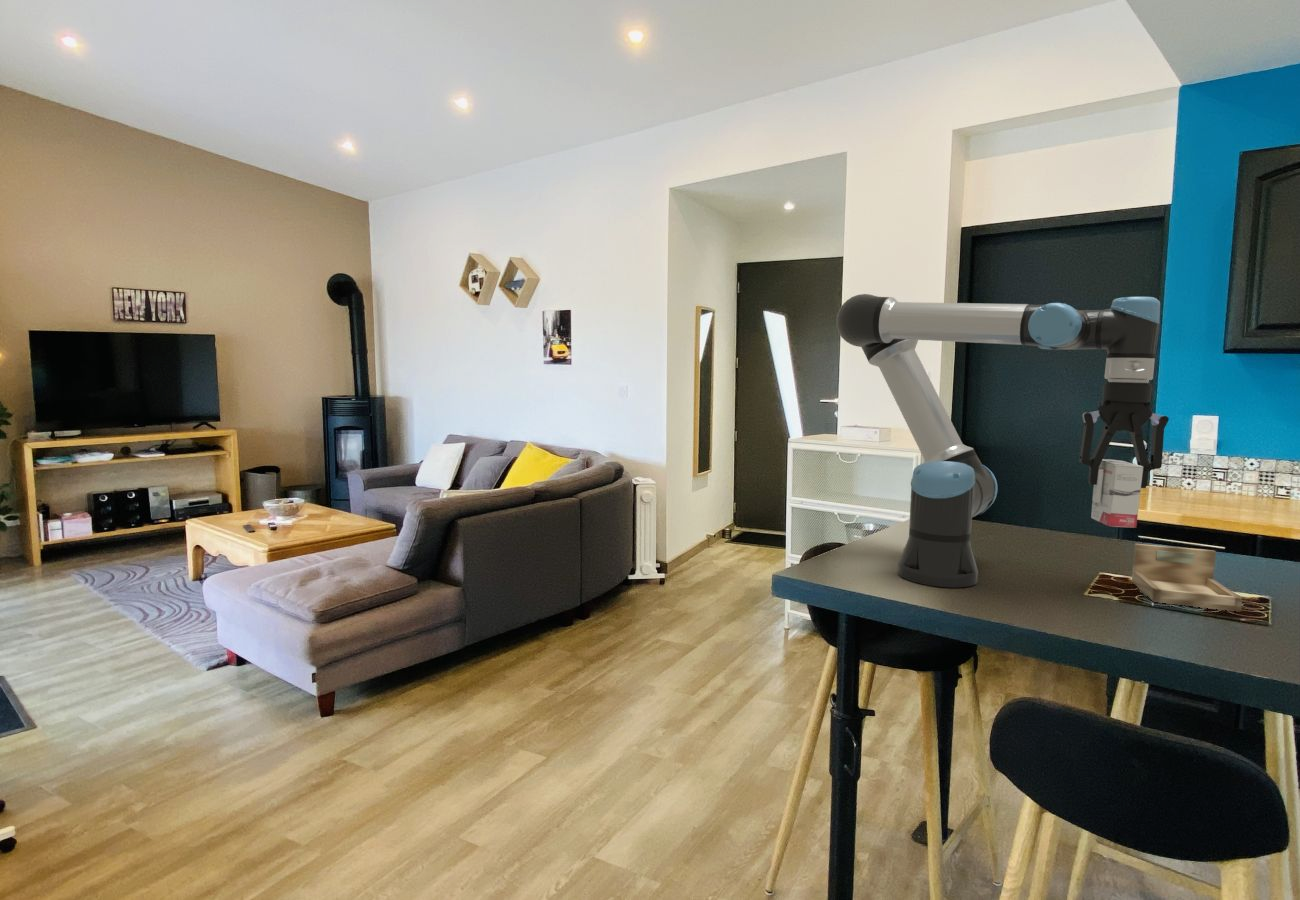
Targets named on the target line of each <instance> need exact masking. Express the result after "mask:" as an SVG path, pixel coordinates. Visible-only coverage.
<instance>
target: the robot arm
mask: <svg viewBox="0 0 1300 900" xmlns="http://www.w3.org/2000/svg"><path fill="white" fill-rule="evenodd" d="M1109 307H1110V308H1105V309H1092V310H1091V309H1086V310H1084V309H1082V310H1079V309H1076V308H1074V307H1073V306H1071V305H1069V304H1067V303H1062V302H1051V303H1050V302H1049V303H1047V304H1039V303H1038V304H1028V303H985V302H984V303H983V302H982V303H978V302H977V303H976V302H975V303H973V302H972V303H971V302H919V301H918V302H917V301H915V302H911V301H910V302H907V301H905V302H903V301H898V300H897V299H896V298H895V297H893V296H877V295H873V294H869V293H861V294H856V295H854V296H851V297H850V298H848V299H847V300H846V301H845V302H844V303H843V304H842V305H841V306H840V308H839V309H838V311H837V314H836V330H837V332H838V334H839V335H840V336H841V338H842V339H843V340H844V341H845V342H846V343H848V344H849V345H852V346H855V347H857V348H858V347H859V348H861V349H862V351H863V354H864V355H865V358H866V360H867V362H868V363H869V365H872V366H876V367H878V368H879V370H880V373H881V374H882V377H883V378H884V380H885V382H886V384H887V386H888V388H889V390H890V392H891V394H892V396H893V399H894V401H895V403H896V405H897V406H898V408H899V411H900V413H901V415H902V417H903V419H904V421H905V423H906V425H907V427H908V430H909V431H910V434H912V437H913V440H914V441H915V444H916V445H917V448H918V449H919V450H918V451H920V453H921V456H922V457H923V459H924V462H923V463H920V464H918V465H917V466H915V467H914V469H913V470H912V478H911V481H910V488H911V489H910V490H911V491H910V508H909V511H910V512H909V525H908V526H909V528H908V529H909V531H908V532H909V533H908V539H907V541H906V543H905V546H904V548H903V551H902V553H901V556H900V558H899V561H898V566H897V572H898V573H897V574H898V575H899V576H900V577H902V578H903V579H906V580H908V581H909V582H914V583H918V584H922V585H926V586H931V587H938V588H939V587H940V588H968V587H972V586H975V585H976V584H977V583H978V581H979V569H978V567H977V563H976V560H975V557H974V553H973V549H972V545H971V535H972V521H973V518H974V517H977V516H979V515H982V514H984V513H985V512H986V511H987V510H988V509H990V507H991V506H992V504H994V503H995V500H996V498H997V494H998V490H999V489H998V487H999V486H998V481H997V479H996V477H995V474H994V472H992V471H991V470H990V469H989V468H988V467H987V466H986V465H984V464H982V462H981V459H979V457H978V455H977V453H976V451H975V449H974V447H971V446H967V445H965V444H964V443H963V441H962V440H961V437H960V435H959V433H958V432H957V430H956V427H955V426H954V423H953V422H952V420H951V418H950V416H949V414H948V412H947V411H946V408H945V406H944V405H943V402H942V399H940V397H939V394H938V393H937V391H936V389H935V387H934V384H933V382H932V381H931V379H930V377H929V375H928V373H927V371H926V369H925V367H924V365H923V363H922V362H921V359H920V357H919V356H918V355H919V354H918V353H917V351H916V348H917V345H918V341H935V342H954V343H955V342H957V343H975V344H979V343H980V344H997V345H998V344H999V345H1020V346H1021V345H1022V346H1033V347H1034V346H1035V347H1038V348H1039V349H1041V350H1052V351H1061V350H1074V351H1075V350H1076V351H1077V350H1106V352H1107V353H1106V361H1105V367H1104V368H1105V370H1104V375H1103V376H1104V379H1105V380H1107V382H1104V383H1103V388H1102V397H1101V404H1100V406H1099V407H1098V409H1097V410H1095V411H1090V412H1085V411H1084V412H1082V414H1081V418H1082V419H1081V420H1082V423H1083V430H1082V435H1081V436H1082V437H1081V443H1080V451H1079V455H1078V457H1079V458H1078V461H1079V463H1081V464H1082V465H1085V466H1088V467H1089V468H1088V469H1089V471H1088V484H1090V485H1093V489H1092V499H1091V500H1092V502H1093V501H1094V502H1095V503H1100V500H1101V490H1102V481H1103V471H1104V469H1102V468H1099V466H1100V464H1101V461H1102V459H1104V456H1105V455H1106V453H1107V450H1108V448H1109V445H1110V444H1111V441H1112V440H1113V437H1114V435H1115V434H1116V432H1120V431H1127V432H1128V433H1129V435H1130V436H1131V437H1130V438H1131V441H1132V445H1133V446H1132V447H1133V450H1134V455H1135V460H1136V463H1137V464H1136V465H1140V466H1143V474H1142V482H1141V489H1146V488H1147V486H1148V480H1149V479H1148V478H1149V473H1150V472H1151V471H1152V470H1160V469H1161V468H1162V466H1163V465H1162V464H1163V450H1164V439H1165V438H1164V437H1165V428H1166V426H1167V424H1168V422H1169V420H1170V419H1169V417H1168V416H1166V415H1160V414H1157V413H1154V412H1153V410H1152V408H1151V400H1152V393H1153V392H1152V391H1153V385H1152V383H1149V381H1152V380H1153V379H1154V373H1155V372H1154V370H1155V360H1156V353H1157V345H1158V340H1159V331H1160V324H1161V323H1160V321H1161V320H1160V319H1161V318H1160V317H1161V316H1160V315H1161V302H1160V300H1159V299H1157V298H1156V297H1153V296H1126V297H1119V298H1114V299H1113V300H1112V302H1111V306H1109ZM1099 417H1100V419H1101V420H1102V422H1103V423H1104V424H1105V425H1104V428H1103V430H1102V434H1101V436H1100V439H1099V440H1098V443H1097V445H1096V447H1095V449H1094V452H1093V454H1092V456H1091V449H1092V445H1093V444H1092V443H1093V435H1094V430H1095V423H1097V421H1098V418H1099ZM1149 419H1150V424H1151V425H1152V427H1151V439H1150V440H1151V442H1150V454H1149V455H1150V457H1149V460H1148V455H1147V450H1146V446H1145V442H1144V437H1143V428H1142V426H1143V425H1145V423H1147V421H1148V420H1149ZM1090 457H1091V458H1090Z"/></svg>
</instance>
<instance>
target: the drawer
mask: <svg viewBox="0 0 1300 900" xmlns="http://www.w3.org/2000/svg"><path fill="white" fill-rule="evenodd" d="M1216 555H1217V551H1216V550H1214V549H1203V548H1194V547H1193V548H1192V547H1190V548H1189V547H1180V546H1168V545H1155V544H1145V543H1134V550H1133V562H1132V572H1131V583H1132V582H1133V583H1134V584H1135V585H1136V586H1137V587H1138V588H1139V589H1138V588H1137V587H1136V586H1135V585H1134V584H1133V583H1132V584H1133V585H1134V586H1135V587H1136V588H1137V589H1138V590H1139V591H1141V593H1143V595H1144V596H1146V597H1147V596H1148V597H1149V598H1150V599H1151V600H1152V601H1153V602H1158V603H1157V604H1162V603H1166V604H1165V605H1171V604H1177V605H1176V606H1180V605H1185V606H1184V607H1189V606H1193V607H1192V608H1198V607H1200V609H1207V608H1208V610H1216V609H1217V610H1218V611H1225V610H1227V611H1226V612H1234V611H1236V613H1241V612H1242V605H1243V604H1242V603H1243V598H1242V597H1240V596H1239V595H1237V594H1236V593H1235V592H1233V591H1232V590H1231V589H1229V588H1228V587H1225V585H1223V584H1221V583H1220V582H1219V581H1217V580H1215V579H1214V574H1215V563H1216ZM1148 597H1147V598H1148ZM1149 598H1148V599H1149ZM1150 599H1149V600H1150ZM1151 600H1150V601H1151ZM1152 601H1151V602H1152ZM1153 602H1152V603H1153Z"/></svg>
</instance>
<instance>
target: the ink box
mask: <svg viewBox="0 0 1300 900" xmlns="http://www.w3.org/2000/svg"><path fill="white" fill-rule="evenodd" d="M1099 468H1102V469H1104V471H1103V481H1102V490H1101V500H1100V503H1095V502H1094V501H1093V500H1092V503H1091V515H1090V518H1091V519H1093V520H1094V521H1096V522H1099V523H1101V524H1103V525H1105V526H1107V527H1112V528H1114V527H1115V528H1130V529H1131V528H1133V529H1134V528H1137V525H1138V514H1139V507H1140V497H1141V490H1142V488H1141V482H1142V474H1143V466H1140V465H1138V464H1136V463H1132V462H1128V461H1126V460H1121V459H1120V460H1119V459H1118V460H1117V459H1110V458H1107V459H1105V458H1103V459H1102V461H1101V464H1100V466H1099Z"/></svg>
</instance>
